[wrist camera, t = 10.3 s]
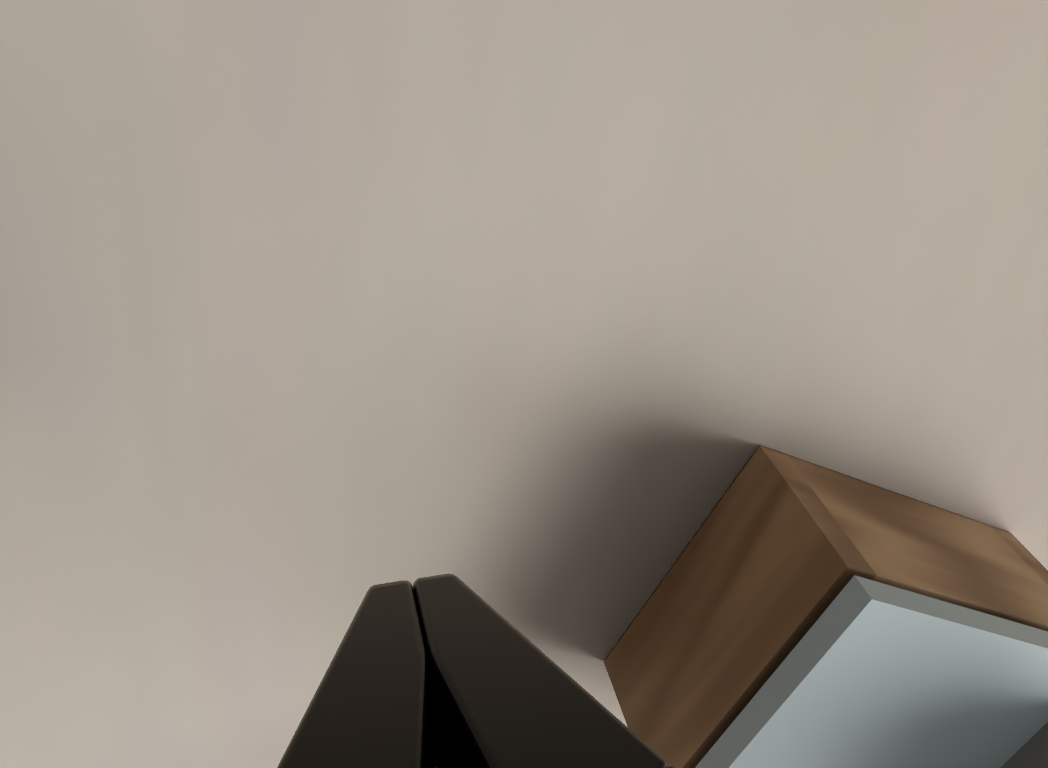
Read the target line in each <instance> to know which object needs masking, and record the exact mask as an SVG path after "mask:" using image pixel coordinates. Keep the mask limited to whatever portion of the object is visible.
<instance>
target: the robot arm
mask: <svg viewBox="0 0 1048 768" xmlns="http://www.w3.org/2000/svg"><path fill="white" fill-rule="evenodd" d="M277 768H675V767H674V766H668V767H667V763H666V761H665V760H664V759H663V758H662V757H660V756H659V755H658V754H657V753H656V752H655V751H654V750H653V749H651V748H650V747H649V746H648V745H647V744H646V743H645V742H643V741H642V740H641V739H640V738H639V737H638V736H637V735H636V734H634V733H633V732H632V731H631V730H630V729H629V728H628V727H626V726H625V725H624V724H623V723H622V722H621V721H620V720H619V719H617V718H616V717H615V716H614V715H613V714H612V713H611V712H609V711H608V710H607V709H606V708H605V707H604V706H603V705H602V704H600V703H599V702H598V701H597V700H596V699H595V698H594V697H593V696H591V695H590V694H589V693H588V692H587V691H586V690H585V689H583V688H582V687H581V686H580V685H579V684H578V683H577V682H575V681H574V680H573V679H572V678H571V677H570V676H569V675H568V674H566V673H565V672H564V671H563V670H562V669H561V668H560V667H559V666H557V665H556V664H555V663H554V662H553V661H552V660H551V659H549V658H548V657H547V656H546V655H545V654H544V653H543V652H541V651H540V650H539V649H538V648H537V647H536V646H535V645H534V644H532V643H531V642H530V641H529V640H528V639H527V638H526V637H525V636H523V635H522V634H521V633H520V632H519V631H518V630H517V629H515V628H514V627H513V626H512V625H511V624H510V623H509V622H507V621H506V620H505V619H504V618H503V617H502V616H501V615H500V614H498V613H497V612H496V611H495V610H494V609H493V608H492V607H491V606H489V605H488V604H487V603H486V602H485V601H484V600H483V599H481V598H480V597H479V596H478V595H477V594H476V593H475V592H473V591H472V590H471V589H470V588H469V587H468V586H467V585H466V584H464V583H463V582H462V581H461V580H460V579H459V578H458V577H456V576H455V575H453V574H444V575H437V576H431V577H424V578H419V579H417V580H416V581H415V582H414V584H413V586H412V584H411V583H410V582H408V581H398V582H391V583H385V584H378V585H374V586H372V587H370V589H369V590H368V592H367V593H366V595H365V597H364V599H363V601H362V603H361V605H360V607H359V609H358V611H357V613H356V615H355V617H354V619H353V621H352V623H351V625H350V627H349V629H348V630H347V632H346V634H345V636H344V638H343V640H342V642H341V644H340V646H339V648H338V650H337V652H336V654H335V656H334V658H333V660H332V662H331V664H330V666H329V668H328V670H327V671H326V673H325V675H324V677H323V679H322V681H321V683H320V685H319V687H318V689H317V691H316V693H315V695H314V697H313V699H312V701H311V703H310V705H309V707H308V709H307V711H306V712H305V714H304V716H303V718H302V720H301V722H300V724H299V726H298V728H297V730H296V732H295V734H294V736H293V738H292V740H291V742H290V744H289V746H288V748H287V750H286V752H285V754H284V755H283V757H282V759H281V761H280V763H279V765H278V767H277Z"/></svg>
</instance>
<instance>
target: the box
mask: <svg viewBox="0 0 1048 768" xmlns="http://www.w3.org/2000/svg"><path fill="white" fill-rule="evenodd" d="M854 575H855V576H859V577H862V578H866V579H869V580H873V581H876V582H879V583H883V584H886V585H890V586H893V587H897V588H900V589H904V590H907V591H910V592H914V593H917V594H921V595H924V596H928V597H931V598H934V599H938V600H941V601H945V602H948V603H952V604H955V605H958V606H962V607H965V608H969V609H972V610H976V611H979V612H982V613H986V614H989V615H993V616H996V617H1000V618H1003V619H1006V620H1010V621H1013V622H1017V623H1020V624H1024V625H1027V626H1030V627H1034V628H1037V629H1041V630H1044V631H1048V571H1047V570H1046V569H1045V568H1044V566H1043V565H1042V564H1041V563H1040V562H1039V561H1038V560H1037V559H1036V558H1035V557H1034V556H1033V555H1032V554H1031V553H1030V552H1029V551H1028V550H1027V549H1026V548H1025V547H1024V546H1023V545H1022V544H1021V543H1020V542H1019V541H1018V540H1017V539H1016V538H1015V537H1014V536H1013V535H1012V534H1011V533H1008V532H1006V531H1003V530H1000V529H997V528H994V527H991V526H988V525H986V524H983V523H980V522H977V521H974V520H971V519H968V518H966V517H963V516H960V515H957V514H954V513H951V512H948V511H946V510H943V509H940V508H937V507H934V506H931V505H928V504H926V503H923V502H920V501H917V500H914V499H911V498H908V497H906V496H903V495H900V494H897V493H894V492H891V491H888V490H886V489H883V488H880V487H877V486H874V485H871V484H869V483H866V482H863V481H860V480H857V479H854V478H851V477H849V476H846V475H843V474H840V473H837V472H834V471H831V470H829V469H826V468H823V467H820V466H817V465H814V464H811V463H809V462H806V461H803V460H800V459H797V458H794V457H791V456H789V455H786V454H783V453H780V452H777V451H774V450H771V449H769V448H766V447H763V446H759V448H758V449H757V450H756V452H755V453H754V454H753V456H752V457H751V459H750V460H749V461H748V463H747V464H746V466H745V467H744V468H743V470H742V471H741V473H740V474H739V475H738V477H737V478H736V479H735V481H734V482H733V484H732V485H731V486H730V488H729V489H728V491H727V492H726V493H725V495H724V496H723V497H722V499H721V500H720V502H719V503H718V504H717V506H716V507H715V509H714V510H713V511H712V513H711V514H710V516H709V517H708V518H707V520H706V521H705V522H704V524H703V525H702V527H701V528H700V529H699V531H698V532H697V534H696V535H695V536H694V538H693V539H692V541H691V542H690V543H689V545H688V546H687V547H686V549H685V550H684V552H683V553H682V554H681V556H680V557H679V559H678V560H677V561H676V563H675V564H674V565H673V567H672V568H671V570H670V571H669V572H668V574H667V575H666V577H665V578H664V579H663V581H662V582H661V584H660V585H659V586H658V588H657V589H656V590H655V592H654V593H653V595H652V596H651V597H650V599H649V600H648V602H647V603H646V604H645V606H644V607H643V608H642V610H641V611H640V613H639V614H638V615H637V617H636V618H635V620H634V621H633V622H632V624H631V625H630V627H629V628H628V629H627V631H626V632H625V633H624V635H623V636H622V638H621V639H620V640H619V642H618V643H617V645H616V646H615V647H614V649H613V650H612V652H611V653H610V654H609V656H608V657H607V658H606V660H605V661H604V664H605V666H606V669H607V672H608V674H609V677H610V680H611V683H612V685H613V688H614V691H615V693H616V696H617V699H618V701H619V704H620V707H621V710H622V712H623V715H624V718H625V720H626V723H627V726H628V728H629V729H630V730H631V731H632V732H633V733H634V734H636V735H637V736H638V737H639V738H640V739H641V740H642V741H643V742H645V743H646V744H647V745H648V746H649V747H650V748H651V749H653V750H654V751H655V752H656V753H657V754H658V755H659V756H660V757H662V758H663V759H664V760H665V761H666V763H667V767H668V766H674V767H675V768H695V767H696V766H697V765H698V763H699V762H700V761H701V760H702V759H703V757H704V756H705V755H706V754H707V753H708V751H709V750H710V749H711V748H712V747H713V745H714V744H715V743H716V742H717V741H718V739H719V738H720V737H721V736H722V734H723V733H724V732H725V731H726V730H727V728H728V727H729V726H730V725H731V724H732V722H733V721H734V720H735V719H736V718H737V716H738V715H739V714H740V713H741V712H742V710H743V709H744V708H745V707H746V706H747V704H748V703H749V702H750V701H751V699H752V698H753V697H754V696H755V695H756V693H757V692H758V691H759V690H760V689H761V687H762V686H763V685H764V684H765V683H766V681H767V680H768V679H769V678H770V677H771V675H772V674H773V673H774V672H775V671H776V669H777V668H778V667H779V666H780V665H781V663H782V662H783V661H784V660H785V658H786V657H787V656H788V655H789V654H790V652H791V651H792V650H793V649H794V648H795V646H796V645H797V644H798V643H799V642H800V640H801V639H802V638H803V637H804V636H805V634H806V633H807V632H808V631H809V630H810V628H811V627H812V626H813V625H814V623H815V622H816V621H817V620H818V619H819V617H820V616H821V615H822V614H823V613H824V611H825V610H826V609H827V608H828V607H829V605H830V604H831V603H832V602H833V601H834V599H835V598H836V597H837V596H838V595H839V593H840V592H841V591H842V590H843V589H844V587H845V586H846V585H847V584H848V582H849V581H850V580H851V579H852V578H853V576H854Z"/></svg>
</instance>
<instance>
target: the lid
mask: <svg viewBox="0 0 1048 768" xmlns="http://www.w3.org/2000/svg"><path fill="white" fill-rule="evenodd" d="M695 768H1048V631H1044V630H1041V629H1037V628H1034V627H1030V626H1027V625H1024V624H1020V623H1017V622H1013V621H1010V620H1006V619H1003V618H1000V617H996V616H993V615H989V614H986V613H982V612H979V611H976V610H972V609H969V608H965V607H962V606H958V605H955V604H952V603H948V602H945V601H941V600H938V599H934V598H931V597H928V596H924V595H921V594H917V593H914V592H910V591H907V590H904V589H900V588H897V587H893V586H890V585H886V584H883V583H879V582H876V581H873V580H869V579H866V578H862V577H859V576H855V575H854V576H853V578H852V579H851V580H850V581H849V582H848V584H847V585H846V586H845V587H844V589H843V590H842V591H841V592H840V593H839V595H838V596H837V597H836V598H835V599H834V601H833V602H832V603H831V604H830V605H829V607H828V608H827V609H826V610H825V611H824V613H823V614H822V615H821V616H820V617H819V619H818V620H817V621H816V622H815V623H814V625H813V626H812V627H811V628H810V630H809V631H808V632H807V633H806V634H805V636H804V637H803V638H802V639H801V640H800V642H799V643H798V644H797V645H796V646H795V648H794V649H793V650H792V651H791V652H790V654H789V655H788V656H787V657H786V658H785V660H784V661H783V662H782V663H781V665H780V666H779V667H778V668H777V669H776V671H775V672H774V673H773V674H772V675H771V677H770V678H769V679H768V680H767V681H766V683H765V684H764V685H763V686H762V687H761V689H760V690H759V691H758V692H757V693H756V695H755V696H754V697H753V698H752V699H751V701H750V702H749V703H748V704H747V706H746V707H745V708H744V709H743V710H742V712H741V713H740V714H739V715H738V716H737V718H736V719H735V720H734V721H733V722H732V724H731V725H730V726H729V727H728V728H727V730H726V731H725V732H724V733H723V734H722V736H721V737H720V738H719V739H718V741H717V742H716V743H715V744H714V745H713V747H712V748H711V749H710V750H709V751H708V753H707V754H706V755H705V756H704V757H703V759H702V760H701V761H700V762H699V763H698V765H697V766H696V767H695Z"/></svg>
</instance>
